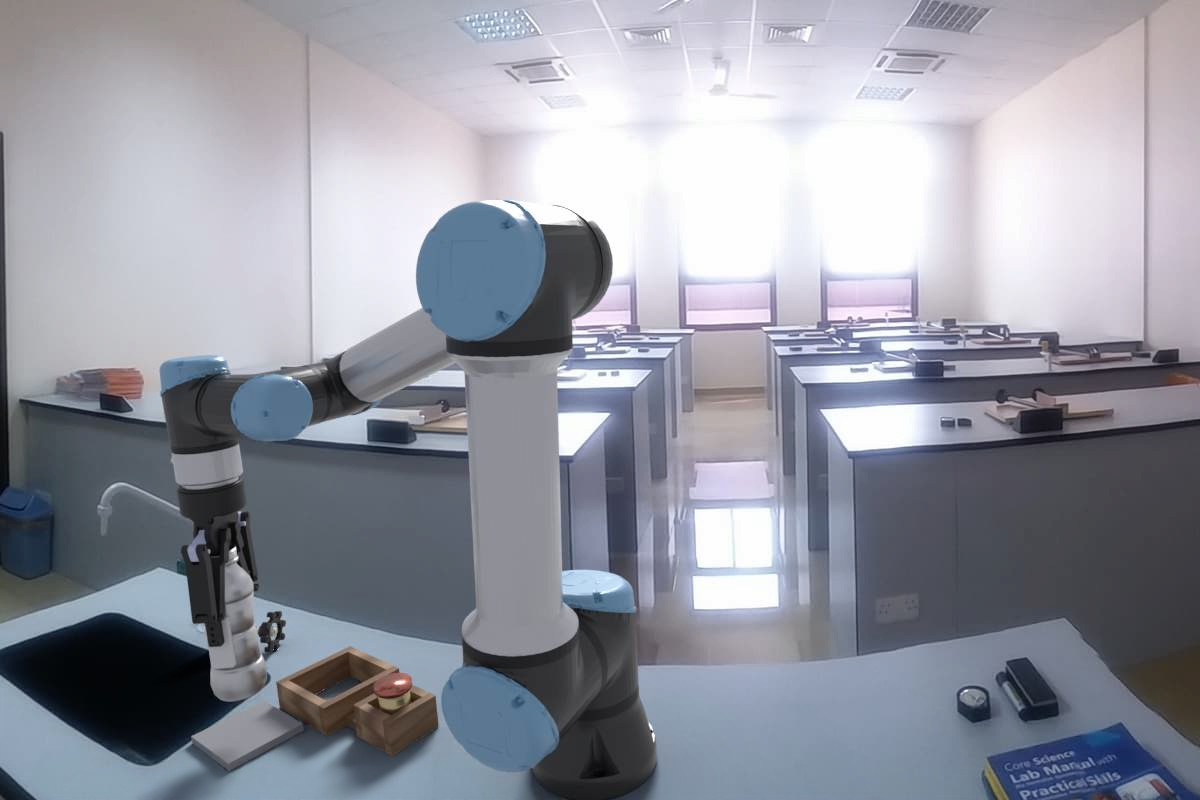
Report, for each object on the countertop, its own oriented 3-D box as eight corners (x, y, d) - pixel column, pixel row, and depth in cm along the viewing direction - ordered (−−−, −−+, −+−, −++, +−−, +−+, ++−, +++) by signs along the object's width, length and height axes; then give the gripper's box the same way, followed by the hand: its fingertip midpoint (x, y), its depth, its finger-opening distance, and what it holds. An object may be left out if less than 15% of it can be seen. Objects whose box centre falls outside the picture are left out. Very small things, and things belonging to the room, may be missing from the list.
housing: (451, 718, 103) (448, 687, 102) (377, 765, 94) (373, 732, 93) (353, 670, 117) (349, 643, 116) (279, 707, 108) (275, 678, 107)
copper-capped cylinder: (424, 725, 101) (419, 679, 100) (394, 744, 97) (388, 696, 96) (401, 714, 104) (396, 669, 103) (371, 731, 100) (365, 685, 99)
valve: (197, 661, 123) (268, 660, 122) (190, 622, 122) (263, 621, 121) (220, 641, 129) (288, 640, 128) (214, 604, 128) (283, 603, 127)
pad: (303, 730, 102) (302, 723, 102) (229, 771, 94) (228, 763, 94) (265, 706, 108) (264, 700, 108) (192, 743, 101) (191, 736, 100)
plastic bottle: (272, 697, 99) (251, 550, 96) (213, 714, 96) (190, 563, 93) (267, 676, 105) (247, 536, 101) (211, 691, 102) (189, 547, 98)
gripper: (215, 463, 105) (238, 621, 109) (136, 506, 86) (167, 695, 90) (270, 459, 105) (291, 618, 109) (204, 502, 86) (232, 691, 90)
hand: (235, 653), depth 99 cm, fingers closed on plastic bottle, 6 cm apart
